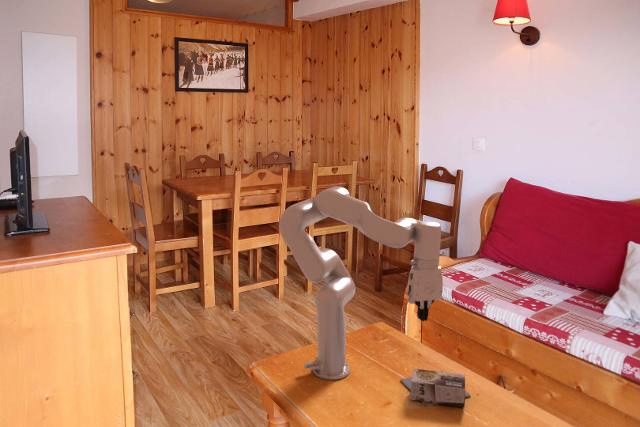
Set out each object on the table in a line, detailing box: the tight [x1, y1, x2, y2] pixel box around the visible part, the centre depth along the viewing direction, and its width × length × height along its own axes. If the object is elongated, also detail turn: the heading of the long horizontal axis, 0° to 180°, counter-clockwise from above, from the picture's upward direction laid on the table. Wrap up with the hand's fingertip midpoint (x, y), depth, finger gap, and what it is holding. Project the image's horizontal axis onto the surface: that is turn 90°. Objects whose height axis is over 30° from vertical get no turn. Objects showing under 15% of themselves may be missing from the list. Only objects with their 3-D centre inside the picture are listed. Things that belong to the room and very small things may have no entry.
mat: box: [399, 370, 471, 407], centre depth 170 cm, size 16×16×1 cm
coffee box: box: [409, 368, 466, 408], centre depth 164 cm, size 9×6×16 cm
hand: (422, 319), depth 164 cm, fingers closed
